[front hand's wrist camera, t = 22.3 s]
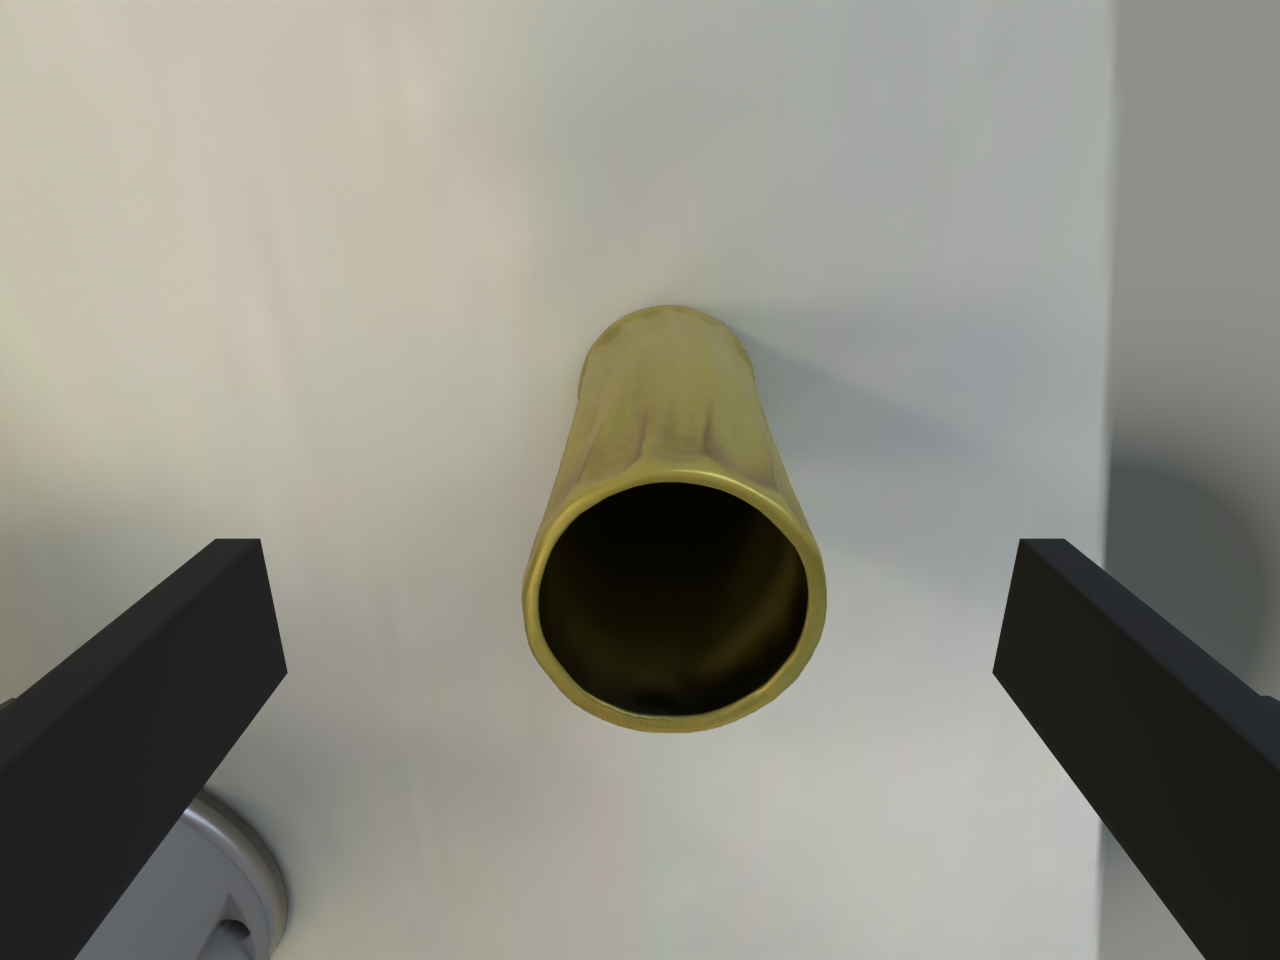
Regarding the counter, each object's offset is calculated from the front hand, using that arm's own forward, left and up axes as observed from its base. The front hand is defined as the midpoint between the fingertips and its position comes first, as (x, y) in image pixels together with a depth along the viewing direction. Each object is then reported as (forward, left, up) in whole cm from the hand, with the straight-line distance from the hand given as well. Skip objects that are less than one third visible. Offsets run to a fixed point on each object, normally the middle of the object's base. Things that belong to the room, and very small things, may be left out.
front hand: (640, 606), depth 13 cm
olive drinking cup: (0, +1, -14) cm, 14 cm away
